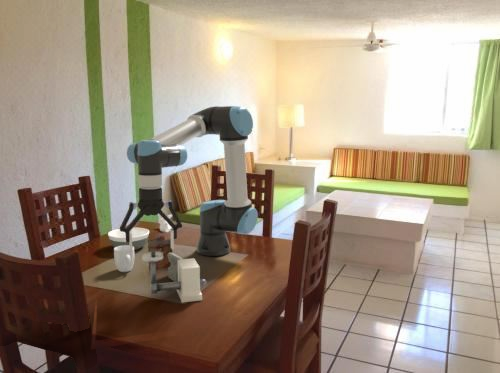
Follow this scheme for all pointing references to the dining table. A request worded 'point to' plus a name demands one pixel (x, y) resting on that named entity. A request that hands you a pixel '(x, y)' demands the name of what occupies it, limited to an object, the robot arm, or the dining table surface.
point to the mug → (124, 258)
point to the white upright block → (189, 280)
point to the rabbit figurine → (165, 224)
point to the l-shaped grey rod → (154, 287)
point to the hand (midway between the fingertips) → (151, 249)
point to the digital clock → (173, 266)
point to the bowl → (138, 237)
